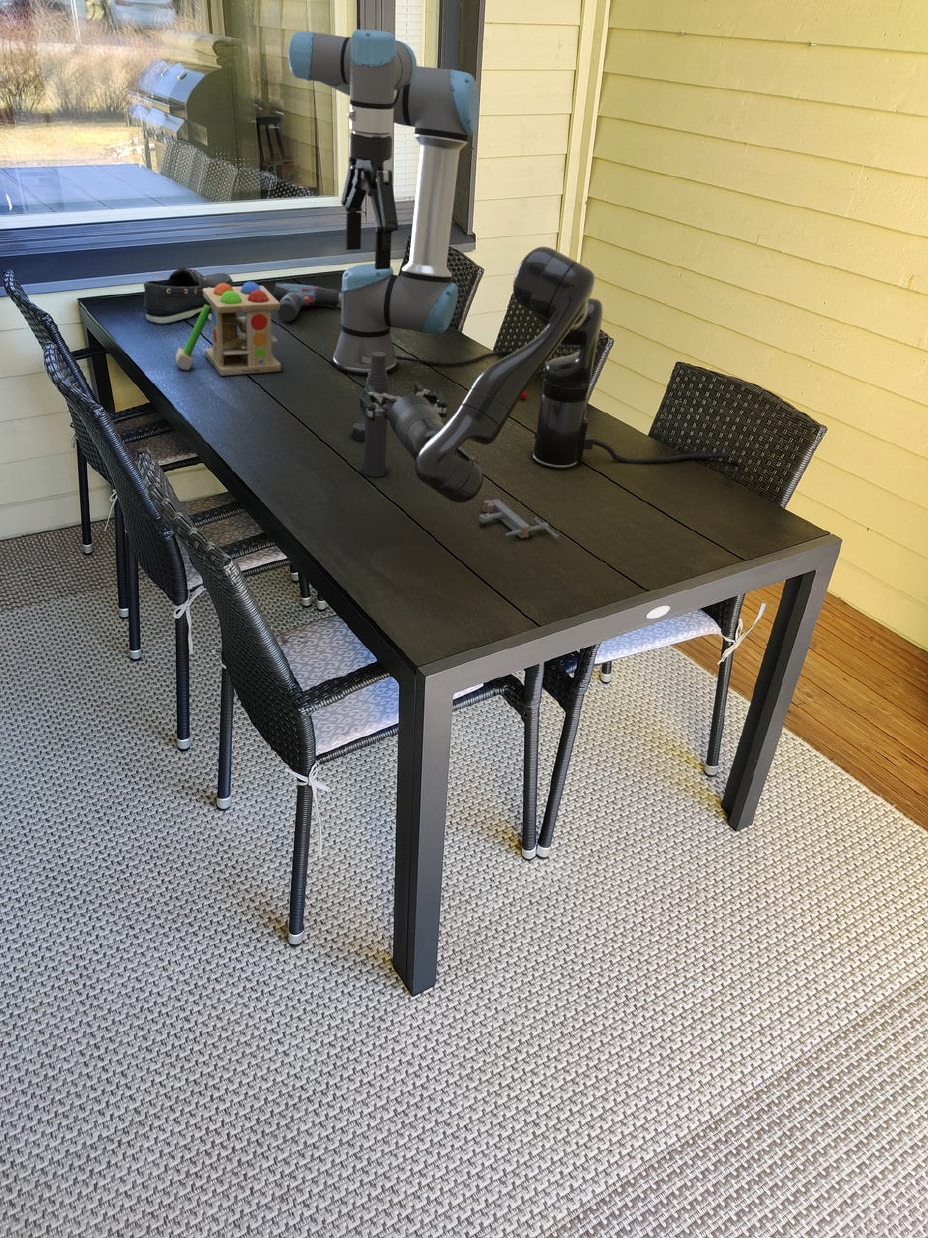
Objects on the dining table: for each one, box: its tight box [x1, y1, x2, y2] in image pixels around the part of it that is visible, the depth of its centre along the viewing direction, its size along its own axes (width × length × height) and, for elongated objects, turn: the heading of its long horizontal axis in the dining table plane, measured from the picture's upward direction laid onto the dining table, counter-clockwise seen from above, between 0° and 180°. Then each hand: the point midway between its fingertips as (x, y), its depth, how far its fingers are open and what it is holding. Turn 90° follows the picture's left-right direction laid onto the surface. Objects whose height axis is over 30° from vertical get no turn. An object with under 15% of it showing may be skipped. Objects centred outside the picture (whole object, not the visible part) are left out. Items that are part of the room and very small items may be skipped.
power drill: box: [274, 282, 342, 322], centre depth 265 cm, size 5×19×20 cm
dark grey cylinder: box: [363, 352, 390, 478], centre depth 184 cm, size 4×4×24 cm
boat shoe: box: [143, 267, 235, 324], centre depth 260 cm, size 13×33×10 cm, turn 147°
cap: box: [352, 421, 365, 442], centre depth 203 cm, size 4×4×3 cm
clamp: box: [478, 498, 560, 540], centre depth 176 cm, size 15×2×10 cm
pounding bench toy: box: [174, 281, 282, 377], centre depth 225 cm, size 23×14×18 cm, turn 116°
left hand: (367, 258), depth 183 cm, fingers open, 13 cm apart
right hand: (392, 388), depth 170 cm, fingers open, 8 cm apart
